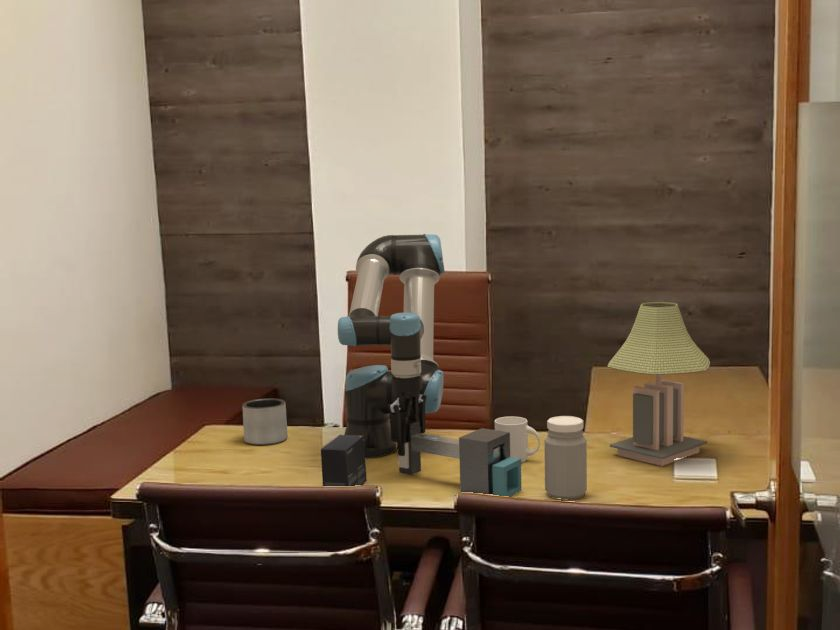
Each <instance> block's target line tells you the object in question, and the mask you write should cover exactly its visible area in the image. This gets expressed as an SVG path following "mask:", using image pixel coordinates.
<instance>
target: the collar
mask: <svg viewBox="0 0 840 630" xmlns="http://www.w3.org/2000/svg"><path fill="white" fill-rule="evenodd" d="M492 471H493V495H499V496H510V497H512V496H514V495H516V494H517V493H519V492H521V491H522V463H521V459H519V458H514V457H509V458H507V459H505V460H503V461H501V462H498V463H496V464H494V465H492ZM507 476H508V485H507ZM511 495H512V496H511Z"/></svg>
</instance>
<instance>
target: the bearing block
mask: <svg viewBox="0 0 840 630" xmlns="http://www.w3.org/2000/svg"><path fill="white" fill-rule="evenodd" d="M458 440H459V458H460V459H459V490H460V491H459V492H473V493H483V494H493V471H492V465H494V458H493V448H494V447H497V446H500V461H499V462H501V461H503V460H505V459H507V458H509V457H510V432H504V431H497V430H495V429H490V428H483V427H481V428H479V429H477V430H473V431H471V432H469V433H467V434H464V435H461V436H460V437H458ZM497 463H498V462H497ZM495 464H496V463H495ZM507 485H508V476H507Z"/></svg>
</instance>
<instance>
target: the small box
mask: <svg viewBox="0 0 840 630" xmlns="http://www.w3.org/2000/svg"><path fill="white" fill-rule="evenodd" d="M320 457H321V458H320V462H321V463H320V464H321V475H322V487H323V486H355V485H362V486H363V485H364V484H365V483H366V482H367V479H368V478H367V477H368V476H367V465H366V464H367V463H366V458H365V443H364V436H360V435H344V434H339V435H337V436H336V437H335V438H334V439H333V440H331V441H329V442H328V443H327V444H326V445H324V446H323V447H322V448H320Z"/></svg>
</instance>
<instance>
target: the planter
mask: <svg viewBox="0 0 840 630" xmlns="http://www.w3.org/2000/svg"><path fill="white" fill-rule="evenodd" d="M286 407H287V406H286V400H284V399H280V398H274V397H273V398H269V397H268V398H258V399H252V400H247V401H245V402H243V403H242V423H243V425H242V426H243V427H242V428H243V440H244V442H245V443H247V444H250V445H253V446H270V445H275V444H276V445H277V444H279V443H282V442H284V441H285V440H287V438H288V423H287V408H286Z"/></svg>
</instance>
